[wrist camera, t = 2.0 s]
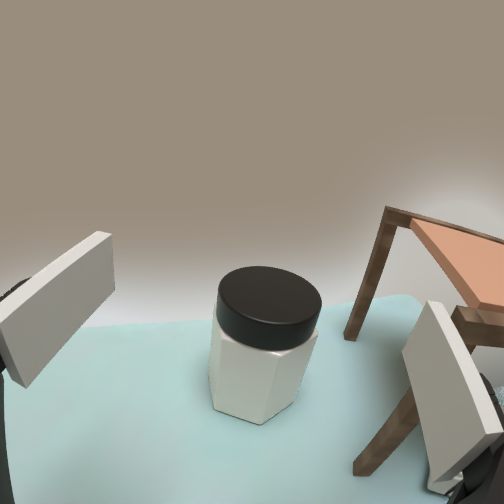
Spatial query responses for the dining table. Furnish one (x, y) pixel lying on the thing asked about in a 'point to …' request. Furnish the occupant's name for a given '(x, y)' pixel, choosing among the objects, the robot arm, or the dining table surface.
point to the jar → (261, 341)
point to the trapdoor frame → (464, 318)
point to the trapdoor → (467, 263)
